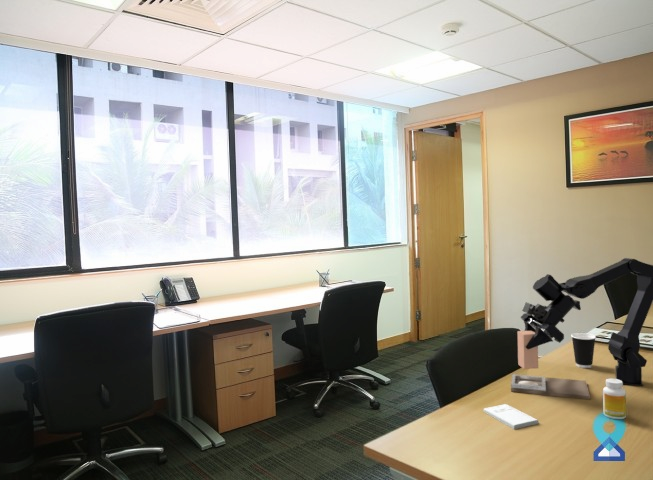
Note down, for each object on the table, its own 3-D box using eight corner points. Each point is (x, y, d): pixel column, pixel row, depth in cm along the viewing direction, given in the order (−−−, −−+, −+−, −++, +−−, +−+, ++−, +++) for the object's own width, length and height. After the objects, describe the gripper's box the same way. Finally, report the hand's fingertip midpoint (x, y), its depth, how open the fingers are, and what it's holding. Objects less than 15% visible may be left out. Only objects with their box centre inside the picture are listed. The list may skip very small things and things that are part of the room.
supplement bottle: (629, 420, 129) (629, 384, 129) (607, 419, 130) (606, 383, 130) (621, 412, 134) (621, 377, 134) (600, 411, 136) (599, 377, 135)
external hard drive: (514, 431, 127) (483, 413, 138) (538, 425, 130) (506, 408, 141) (513, 425, 127) (483, 408, 138) (538, 419, 129) (506, 403, 141)
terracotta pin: (531, 363, 158) (531, 330, 157) (538, 368, 153) (537, 333, 153) (518, 364, 158) (517, 331, 157) (524, 369, 153) (523, 334, 153)
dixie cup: (600, 369, 170) (600, 338, 169) (577, 369, 171) (577, 338, 170) (589, 362, 178) (589, 332, 177) (567, 362, 178) (567, 333, 178)
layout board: (585, 383, 157) (585, 377, 157) (590, 399, 144) (589, 392, 144) (513, 377, 166) (512, 370, 165) (511, 391, 153) (510, 384, 153)
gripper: (525, 289, 164) (494, 323, 164) (553, 298, 145) (517, 336, 145) (549, 311, 164) (517, 345, 164) (579, 323, 146) (544, 361, 146)
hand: (523, 346), depth 155 cm, fingers closed on terracotta pin, 4 cm apart
